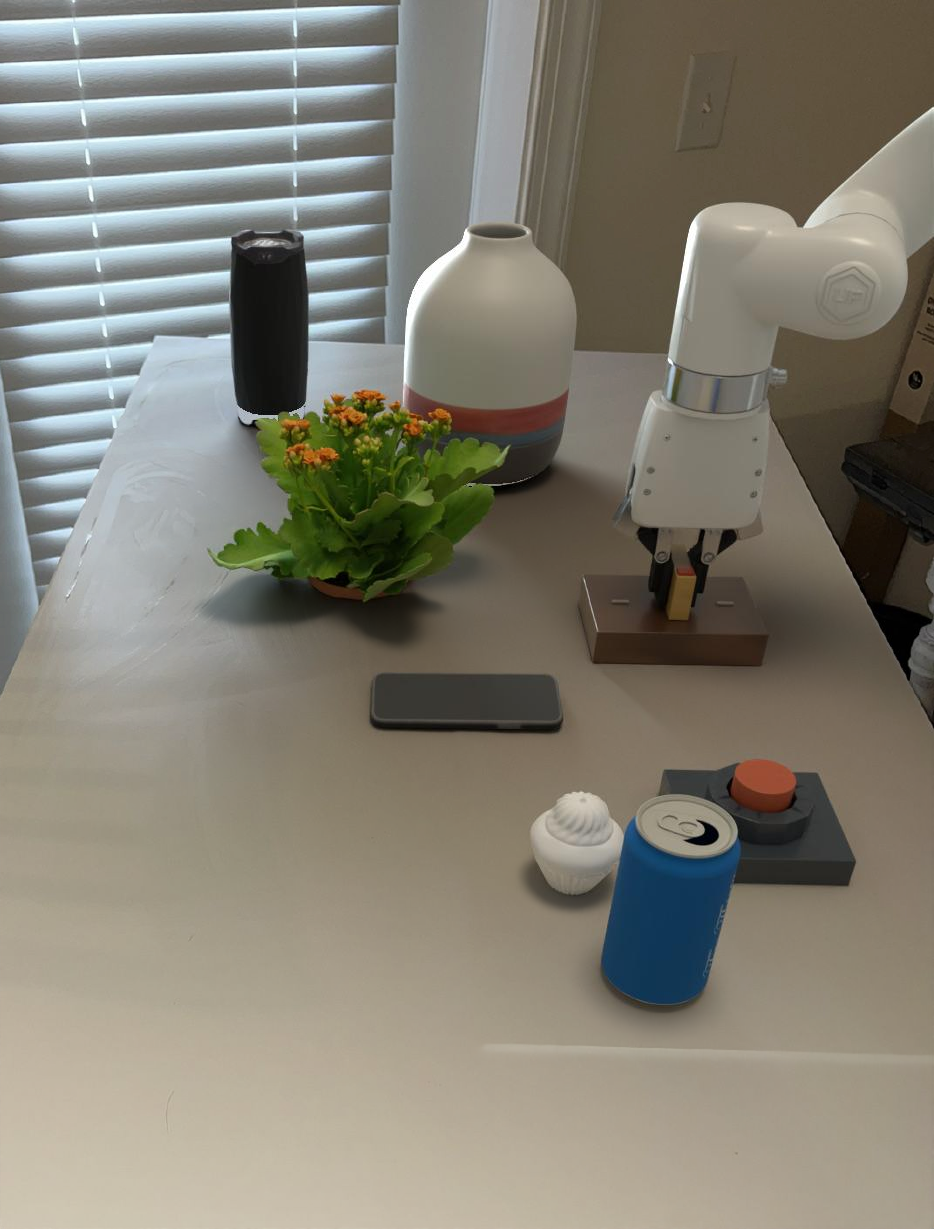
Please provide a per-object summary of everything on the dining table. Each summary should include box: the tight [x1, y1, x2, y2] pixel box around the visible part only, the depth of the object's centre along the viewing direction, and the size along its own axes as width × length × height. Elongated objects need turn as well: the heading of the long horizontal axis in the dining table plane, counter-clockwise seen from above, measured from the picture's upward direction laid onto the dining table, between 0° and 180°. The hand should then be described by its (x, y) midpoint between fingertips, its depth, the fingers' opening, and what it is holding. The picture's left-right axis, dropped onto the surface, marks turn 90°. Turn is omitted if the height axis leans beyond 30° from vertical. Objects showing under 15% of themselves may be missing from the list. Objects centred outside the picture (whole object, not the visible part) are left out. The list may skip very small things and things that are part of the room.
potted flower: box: [206, 389, 511, 603], centre depth 119 cm, size 25×24×18 cm
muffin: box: [529, 790, 625, 896], centre depth 88 cm, size 6×6×7 cm
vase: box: [402, 221, 578, 484], centre depth 136 cm, size 17×17×24 cm
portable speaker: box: [228, 229, 310, 415], centre depth 148 cm, size 9×9×20 cm
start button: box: [730, 758, 796, 813], centre depth 91 cm, size 4×4×2 cm
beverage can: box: [600, 794, 741, 1006], centre depth 79 cm, size 6×6×12 cm
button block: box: [658, 762, 857, 887], centre depth 92 cm, size 11×10×4 cm
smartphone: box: [369, 671, 564, 730], centre depth 106 cm, size 7×1×15 cm
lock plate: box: [578, 574, 770, 667], centre depth 114 cm, size 14×10×3 cm
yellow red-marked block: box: [665, 543, 696, 620], centre depth 112 cm, size 6×2×4 cm, turn 177°
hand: (673, 597), depth 113 cm, fingers closed on yellow red-marked block
